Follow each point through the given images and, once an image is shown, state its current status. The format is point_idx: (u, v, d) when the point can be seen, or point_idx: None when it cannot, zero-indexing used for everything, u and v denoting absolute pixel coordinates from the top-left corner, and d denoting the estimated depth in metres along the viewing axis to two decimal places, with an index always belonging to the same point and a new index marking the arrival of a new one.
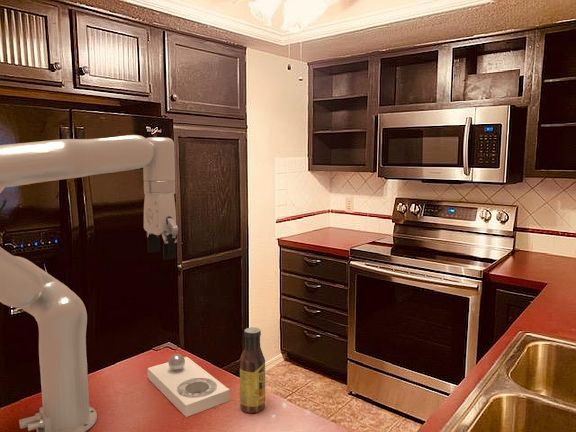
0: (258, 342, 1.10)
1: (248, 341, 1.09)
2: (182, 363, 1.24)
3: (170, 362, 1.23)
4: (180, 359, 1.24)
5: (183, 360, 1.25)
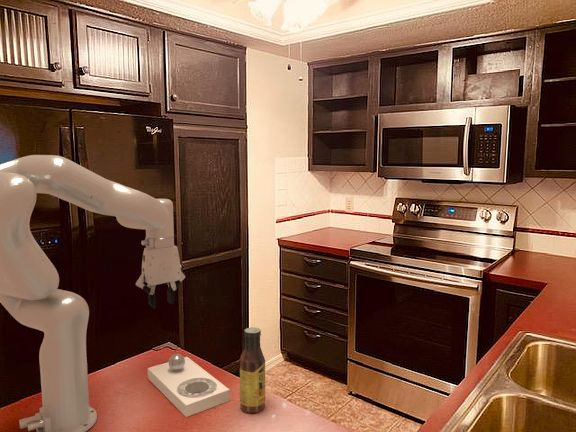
0: (258, 342, 1.10)
1: (248, 341, 1.09)
2: (182, 363, 1.24)
3: (170, 362, 1.23)
4: (180, 359, 1.24)
5: (183, 360, 1.25)
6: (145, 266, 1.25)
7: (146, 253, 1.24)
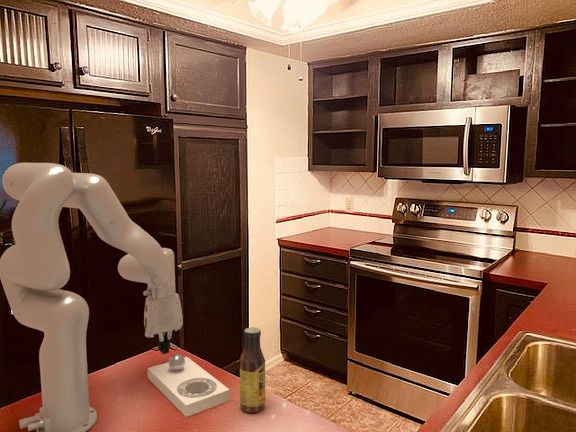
0: (258, 342, 1.10)
1: (248, 341, 1.09)
2: (182, 363, 1.24)
3: (170, 362, 1.23)
4: (180, 359, 1.24)
5: (183, 360, 1.25)
6: (147, 316, 1.27)
7: (148, 303, 1.26)
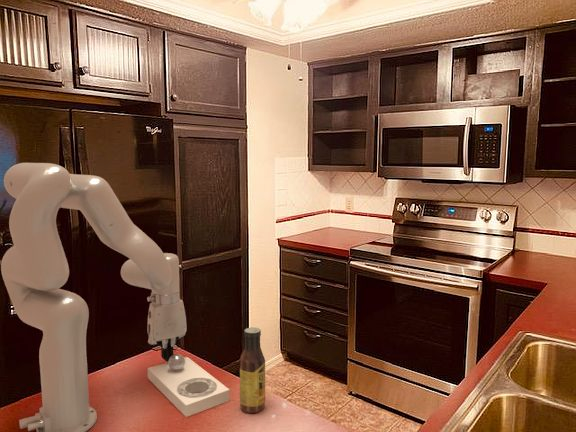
0: (258, 342, 1.10)
1: (248, 341, 1.09)
2: (182, 363, 1.24)
3: (170, 362, 1.23)
4: (180, 359, 1.24)
5: (183, 360, 1.25)
6: (151, 322, 1.24)
7: (152, 310, 1.24)
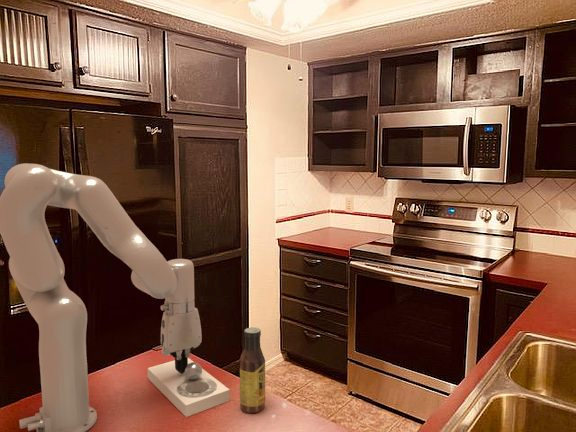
0: (258, 342, 1.10)
1: (248, 341, 1.09)
2: None
3: (186, 375, 1.19)
4: None
5: None
6: (165, 333, 1.17)
7: (166, 319, 1.17)
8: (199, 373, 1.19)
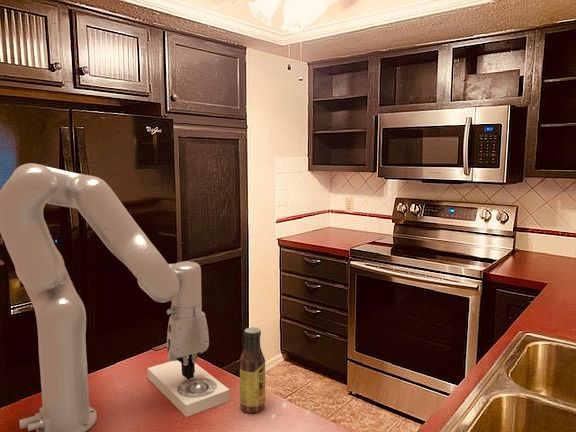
0: (258, 342, 1.10)
1: (248, 341, 1.09)
2: None
3: None
4: None
5: None
6: (171, 337, 1.14)
7: (172, 323, 1.14)
8: None
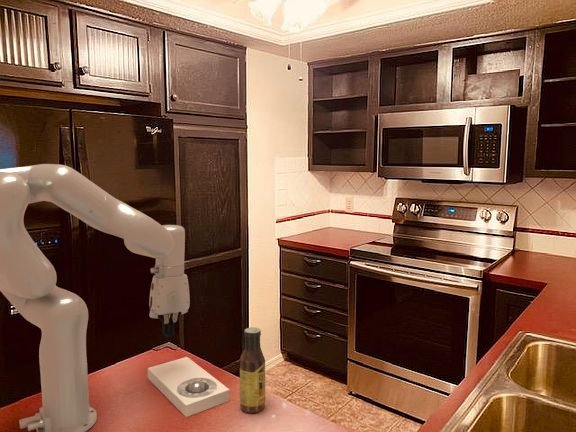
0: (258, 342, 1.10)
1: (248, 341, 1.09)
2: (195, 393, 1.14)
3: None
4: (190, 392, 1.14)
5: (194, 390, 1.14)
6: (153, 295, 1.20)
7: (155, 281, 1.20)
8: None
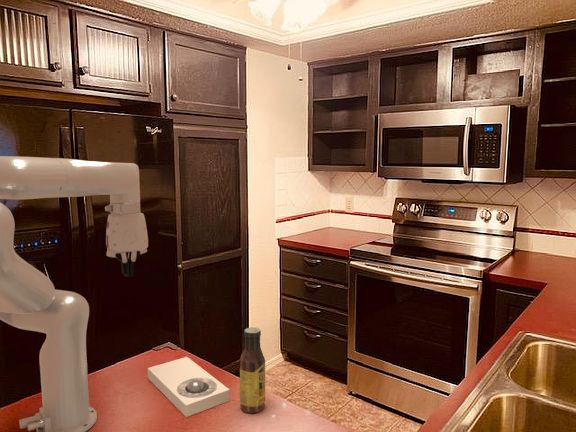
0: (258, 342, 1.10)
1: (248, 341, 1.09)
2: (193, 390, 1.15)
3: None
4: (189, 390, 1.15)
5: (192, 387, 1.15)
6: (109, 233, 1.19)
7: (110, 219, 1.18)
8: None
